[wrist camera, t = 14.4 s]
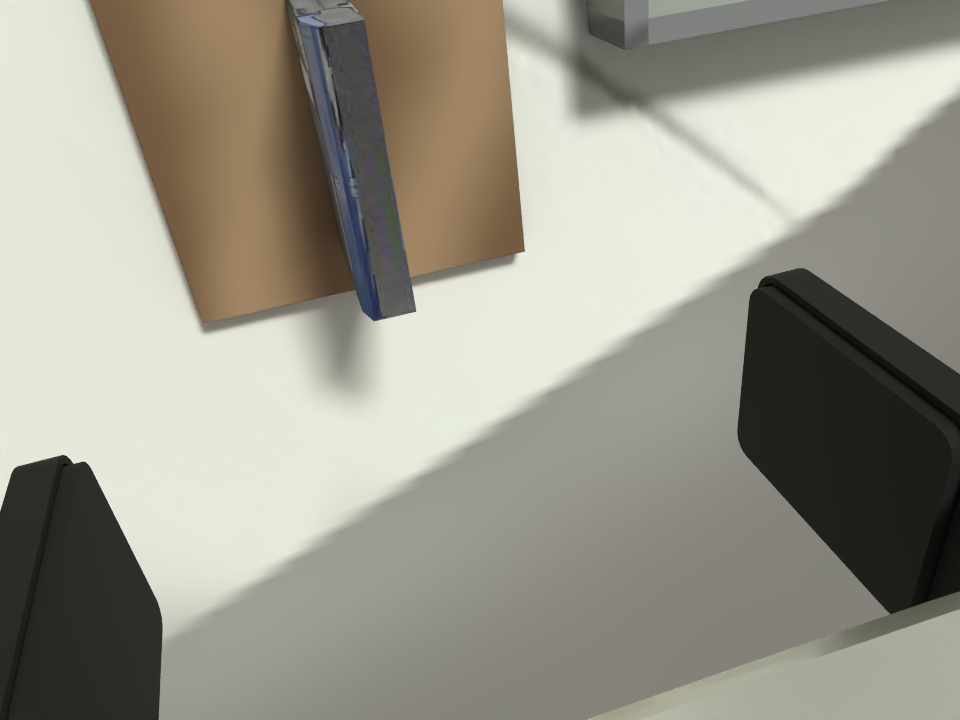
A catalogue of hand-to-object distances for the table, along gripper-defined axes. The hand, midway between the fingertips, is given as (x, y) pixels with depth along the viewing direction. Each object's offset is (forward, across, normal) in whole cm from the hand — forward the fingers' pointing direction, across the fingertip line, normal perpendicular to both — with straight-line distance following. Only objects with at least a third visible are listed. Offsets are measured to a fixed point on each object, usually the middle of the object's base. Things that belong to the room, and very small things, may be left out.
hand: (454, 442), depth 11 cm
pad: (+19, -1, +1) cm, 19 cm away
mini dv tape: (+18, -1, +1) cm, 18 cm away
